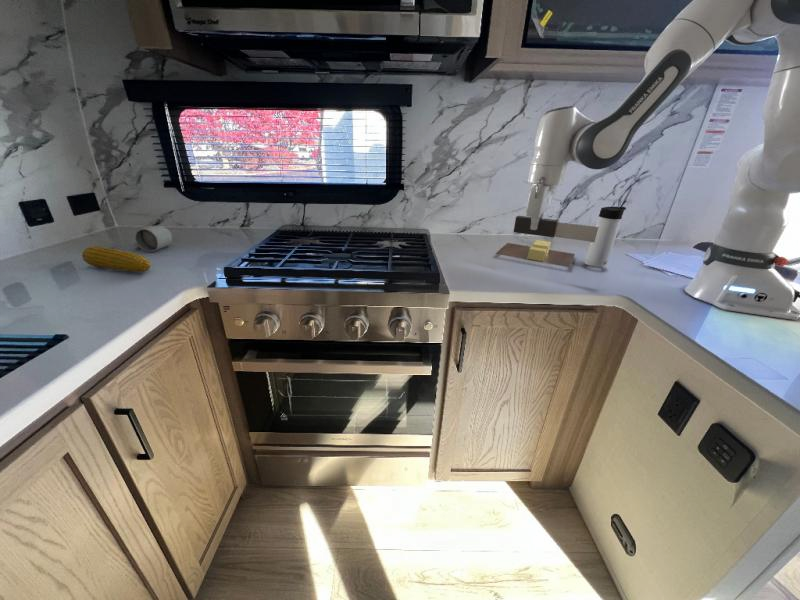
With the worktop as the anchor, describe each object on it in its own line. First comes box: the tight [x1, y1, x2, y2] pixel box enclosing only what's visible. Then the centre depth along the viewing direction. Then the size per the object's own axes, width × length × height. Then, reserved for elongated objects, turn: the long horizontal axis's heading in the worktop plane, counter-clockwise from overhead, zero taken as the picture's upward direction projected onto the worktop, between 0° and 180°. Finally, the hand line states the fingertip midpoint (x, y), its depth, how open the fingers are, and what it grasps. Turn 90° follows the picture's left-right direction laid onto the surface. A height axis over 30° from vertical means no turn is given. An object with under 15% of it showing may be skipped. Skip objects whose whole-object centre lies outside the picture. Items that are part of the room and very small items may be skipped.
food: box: [81, 246, 151, 273], centre depth 93 cm, size 21×6×6 cm, turn 77°
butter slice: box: [528, 246, 547, 262], centre depth 111 cm, size 5×3×4 cm, turn 61°
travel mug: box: [584, 206, 627, 272], centre depth 105 cm, size 6×7×20 cm
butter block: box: [531, 239, 552, 256], centre depth 118 cm, size 5×7×4 cm
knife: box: [513, 215, 599, 243], centre depth 92 cm, size 21×3×4 cm, turn 60°
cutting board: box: [495, 242, 576, 268], centre depth 117 cm, size 24×17×2 cm
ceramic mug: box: [134, 225, 173, 253], centre depth 111 cm, size 11×8×8 cm
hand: (535, 228), depth 94 cm, fingers closed on knife, 2 cm apart
